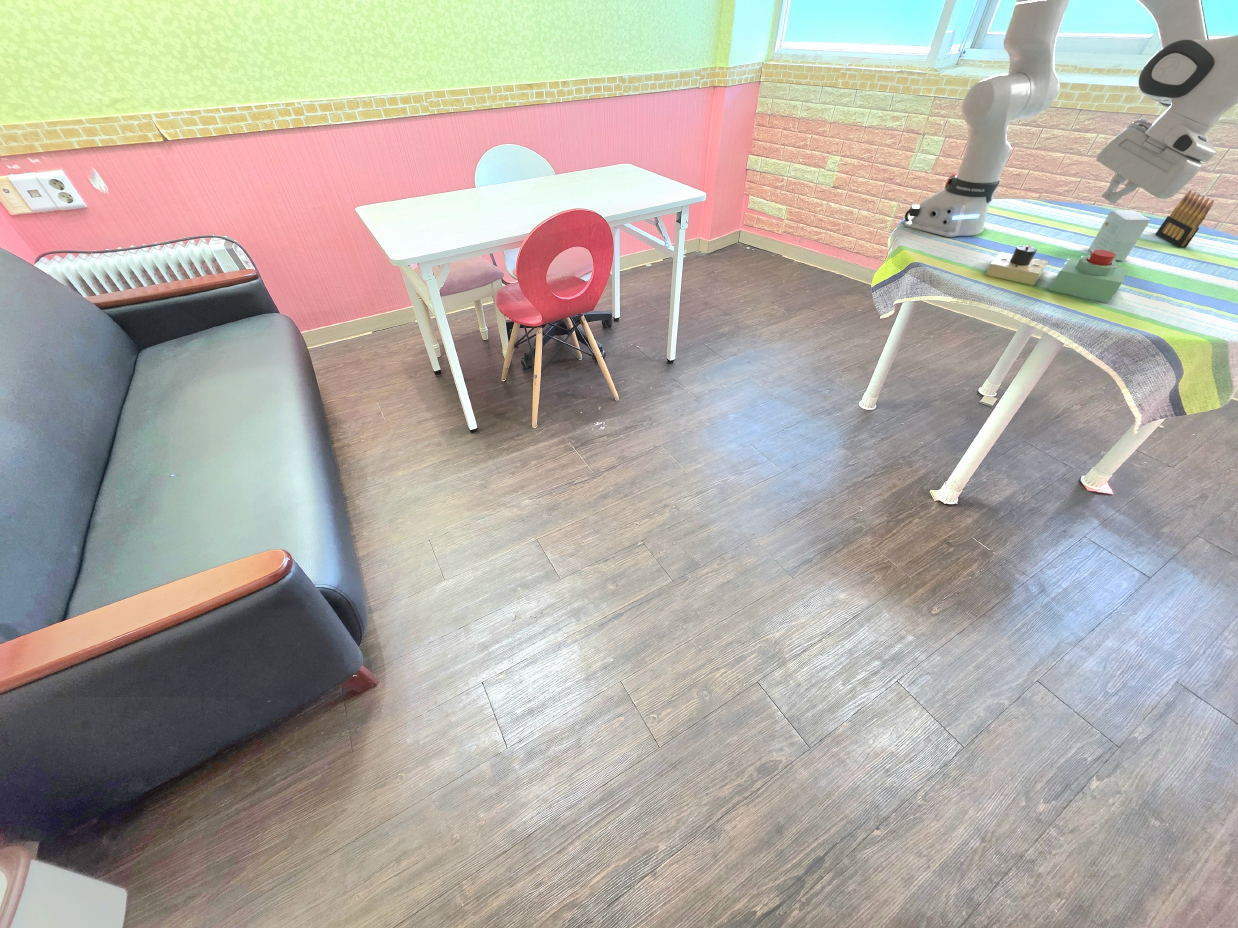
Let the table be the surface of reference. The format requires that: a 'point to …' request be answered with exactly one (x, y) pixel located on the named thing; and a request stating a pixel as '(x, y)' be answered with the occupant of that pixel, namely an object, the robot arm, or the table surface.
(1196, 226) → the ammunition clip
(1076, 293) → the green push button box
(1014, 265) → the panel
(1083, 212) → the table surface
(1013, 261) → the knob
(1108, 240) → the small box
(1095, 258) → the button
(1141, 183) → the robot arm
